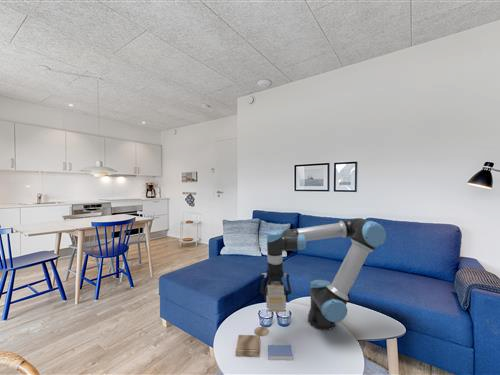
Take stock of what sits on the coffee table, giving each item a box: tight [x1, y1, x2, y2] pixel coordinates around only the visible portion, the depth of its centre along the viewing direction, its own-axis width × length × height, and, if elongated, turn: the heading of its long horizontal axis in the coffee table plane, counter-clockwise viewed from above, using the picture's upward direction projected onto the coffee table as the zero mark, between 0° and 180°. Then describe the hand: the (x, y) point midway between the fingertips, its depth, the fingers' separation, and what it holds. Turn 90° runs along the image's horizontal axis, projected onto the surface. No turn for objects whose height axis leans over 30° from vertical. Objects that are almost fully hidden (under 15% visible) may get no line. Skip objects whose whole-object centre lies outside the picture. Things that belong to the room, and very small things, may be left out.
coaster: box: [253, 326, 270, 337], centre depth 125 cm, size 8×8×1 cm
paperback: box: [267, 344, 294, 361], centre depth 108 cm, size 7×11×2 cm, turn 87°
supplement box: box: [266, 281, 285, 313], centre depth 117 cm, size 8×5×13 cm, turn 84°
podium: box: [235, 334, 261, 358], centre depth 113 cm, size 11×11×3 cm
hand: (276, 306), depth 118 cm, fingers closed on supplement box, 8 cm apart
